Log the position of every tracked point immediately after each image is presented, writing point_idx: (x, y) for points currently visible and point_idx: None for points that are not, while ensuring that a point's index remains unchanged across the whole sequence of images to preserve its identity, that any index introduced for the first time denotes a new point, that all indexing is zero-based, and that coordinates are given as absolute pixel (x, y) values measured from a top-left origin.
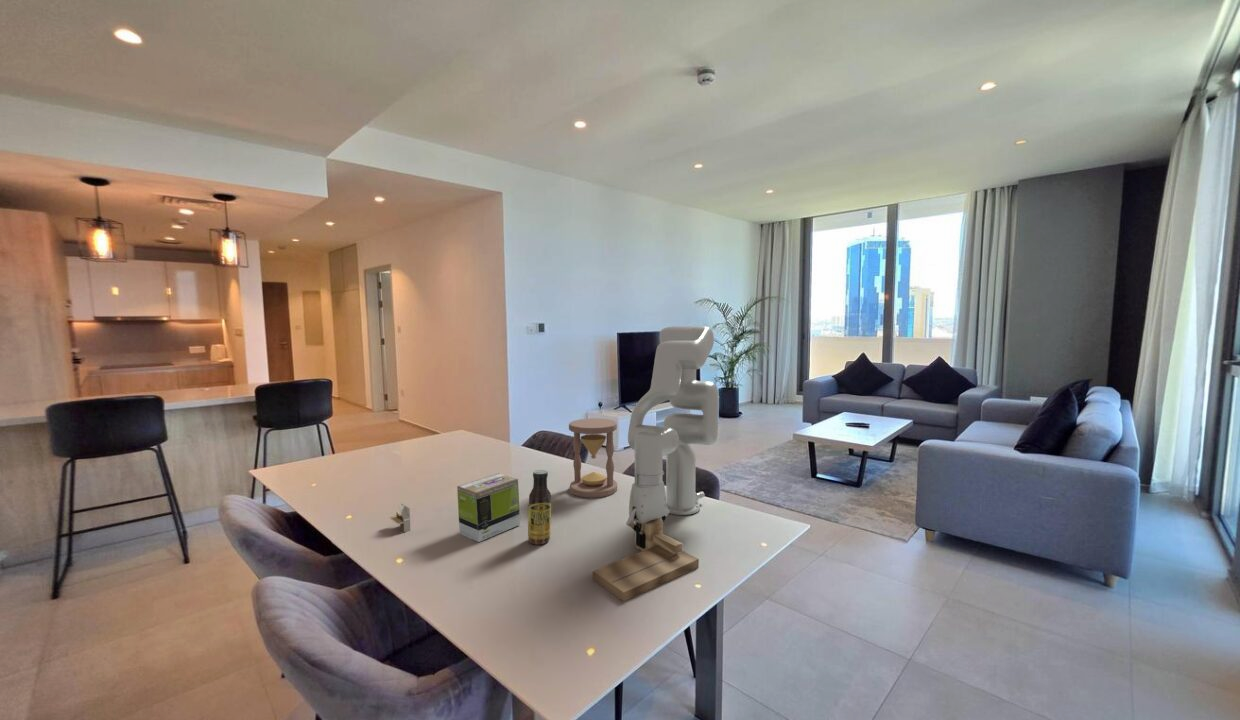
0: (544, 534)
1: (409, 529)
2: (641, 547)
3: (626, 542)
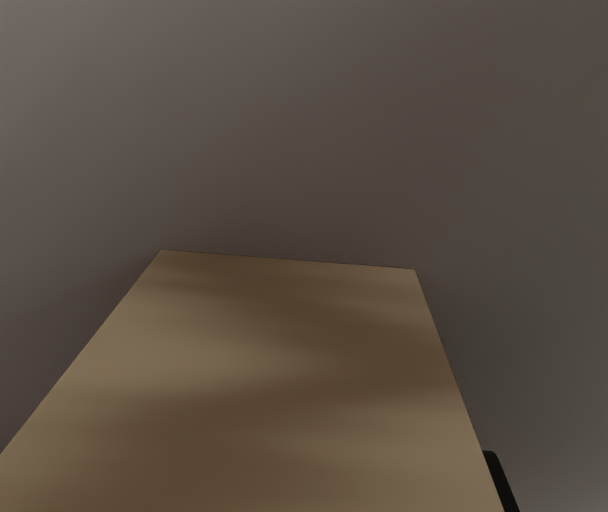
0: None
1: None
2: None
3: (150, 64)
